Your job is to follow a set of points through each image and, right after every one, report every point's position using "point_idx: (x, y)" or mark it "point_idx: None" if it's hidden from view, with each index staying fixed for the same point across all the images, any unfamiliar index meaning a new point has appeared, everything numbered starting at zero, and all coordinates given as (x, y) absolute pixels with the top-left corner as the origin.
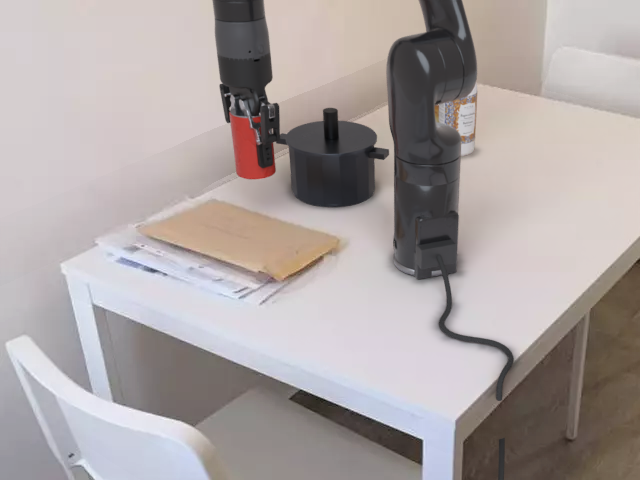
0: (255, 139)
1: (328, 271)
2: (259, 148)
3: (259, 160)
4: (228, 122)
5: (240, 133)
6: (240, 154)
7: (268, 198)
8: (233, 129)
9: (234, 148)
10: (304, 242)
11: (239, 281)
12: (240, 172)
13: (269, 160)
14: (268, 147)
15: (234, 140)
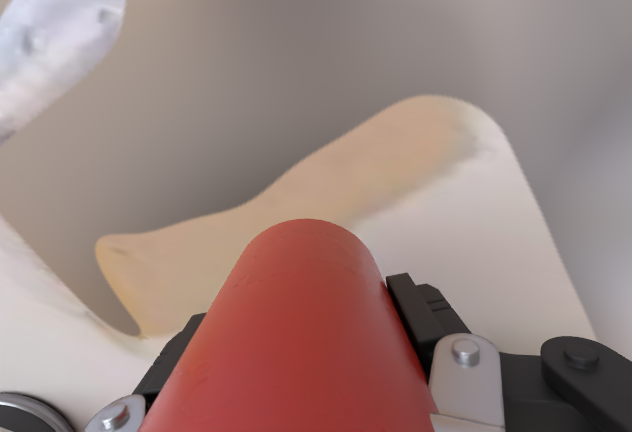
0: (143, 413)
1: (22, 281)
2: (153, 381)
3: (184, 331)
4: (544, 347)
5: (184, 367)
6: (244, 272)
7: (411, 277)
8: (248, 346)
9: (290, 264)
10: (161, 279)
11: (11, 90)
12: (271, 231)
13: None
14: None
15: (268, 292)
